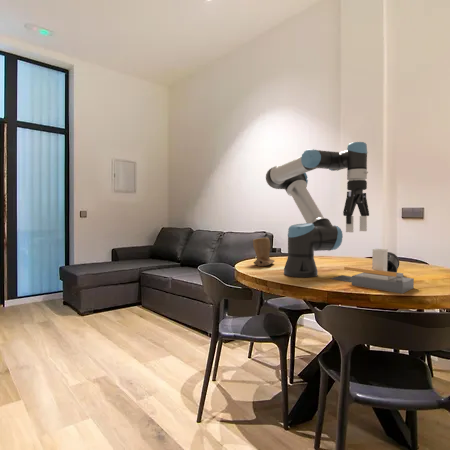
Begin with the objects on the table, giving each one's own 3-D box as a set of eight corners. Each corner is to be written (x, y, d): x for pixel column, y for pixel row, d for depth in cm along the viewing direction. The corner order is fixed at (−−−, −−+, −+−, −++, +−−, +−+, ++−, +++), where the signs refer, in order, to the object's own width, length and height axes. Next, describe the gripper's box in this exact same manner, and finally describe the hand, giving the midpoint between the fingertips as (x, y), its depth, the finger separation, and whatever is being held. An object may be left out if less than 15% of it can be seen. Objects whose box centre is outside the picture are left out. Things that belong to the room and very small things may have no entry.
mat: (330, 280, 135) (330, 278, 135) (342, 276, 143) (342, 275, 143) (355, 284, 127) (355, 282, 127) (367, 280, 135) (367, 278, 135)
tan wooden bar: (404, 276, 114) (404, 273, 114) (401, 277, 112) (402, 274, 112) (346, 269, 129) (346, 266, 129) (343, 269, 127) (344, 266, 127)
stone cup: (256, 262, 184) (256, 236, 184) (276, 263, 180) (276, 236, 179) (247, 266, 170) (248, 238, 170) (269, 267, 166) (269, 238, 165)
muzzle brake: (370, 283, 130) (371, 257, 130) (376, 272, 155) (377, 250, 154) (397, 285, 126) (397, 259, 125) (399, 273, 150) (399, 252, 149)
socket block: (351, 286, 124) (352, 272, 123) (364, 281, 132) (365, 268, 132) (402, 294, 111) (402, 279, 110) (413, 289, 119) (413, 274, 119)
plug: (362, 285, 122) (363, 249, 122) (372, 282, 128) (372, 247, 128) (387, 289, 116) (388, 251, 115) (396, 286, 122) (397, 249, 121)
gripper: (353, 176, 121) (352, 233, 121) (377, 182, 138) (377, 231, 139) (334, 178, 126) (334, 232, 126) (360, 183, 144) (359, 230, 144)
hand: (356, 231), depth 133 cm, fingers open, 13 cm apart
